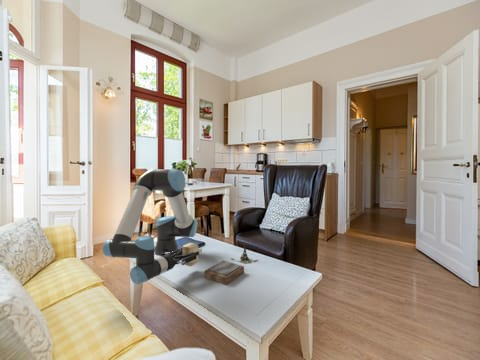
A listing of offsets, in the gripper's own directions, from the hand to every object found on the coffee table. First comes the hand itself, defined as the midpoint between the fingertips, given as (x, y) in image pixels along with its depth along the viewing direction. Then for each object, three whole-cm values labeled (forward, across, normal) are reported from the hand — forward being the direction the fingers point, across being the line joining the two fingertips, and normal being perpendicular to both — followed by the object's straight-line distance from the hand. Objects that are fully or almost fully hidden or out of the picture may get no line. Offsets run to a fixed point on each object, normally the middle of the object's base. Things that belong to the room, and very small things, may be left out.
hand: (196, 249), depth 132 cm
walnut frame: (+2, +18, -11) cm, 21 cm away
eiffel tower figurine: (+26, +16, -12) cm, 32 cm away
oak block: (-5, 0, -6) cm, 8 cm away
